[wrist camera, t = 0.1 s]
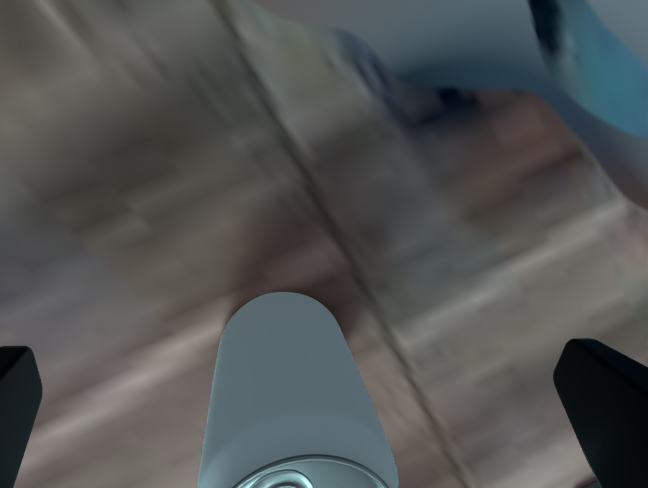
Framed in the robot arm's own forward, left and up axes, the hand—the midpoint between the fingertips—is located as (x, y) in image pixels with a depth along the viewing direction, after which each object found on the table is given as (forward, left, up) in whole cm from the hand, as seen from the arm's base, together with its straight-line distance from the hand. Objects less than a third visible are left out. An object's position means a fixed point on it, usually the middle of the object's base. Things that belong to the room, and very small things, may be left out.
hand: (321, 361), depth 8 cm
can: (-5, -5, -16) cm, 17 cm away
